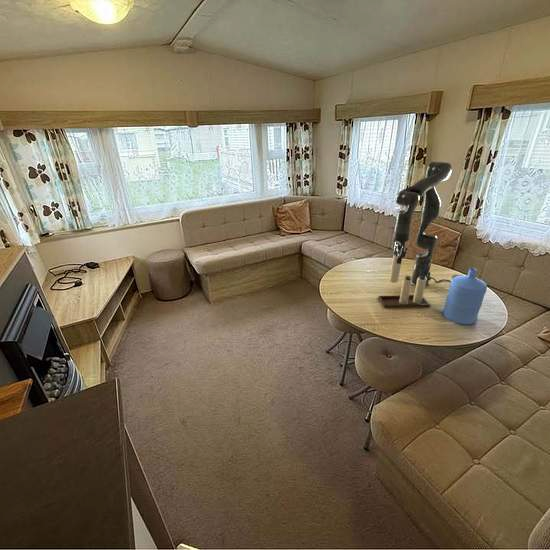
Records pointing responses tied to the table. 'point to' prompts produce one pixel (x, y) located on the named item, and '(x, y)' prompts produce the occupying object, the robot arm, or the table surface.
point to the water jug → (465, 298)
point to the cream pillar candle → (394, 269)
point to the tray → (394, 302)
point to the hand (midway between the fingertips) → (396, 261)
